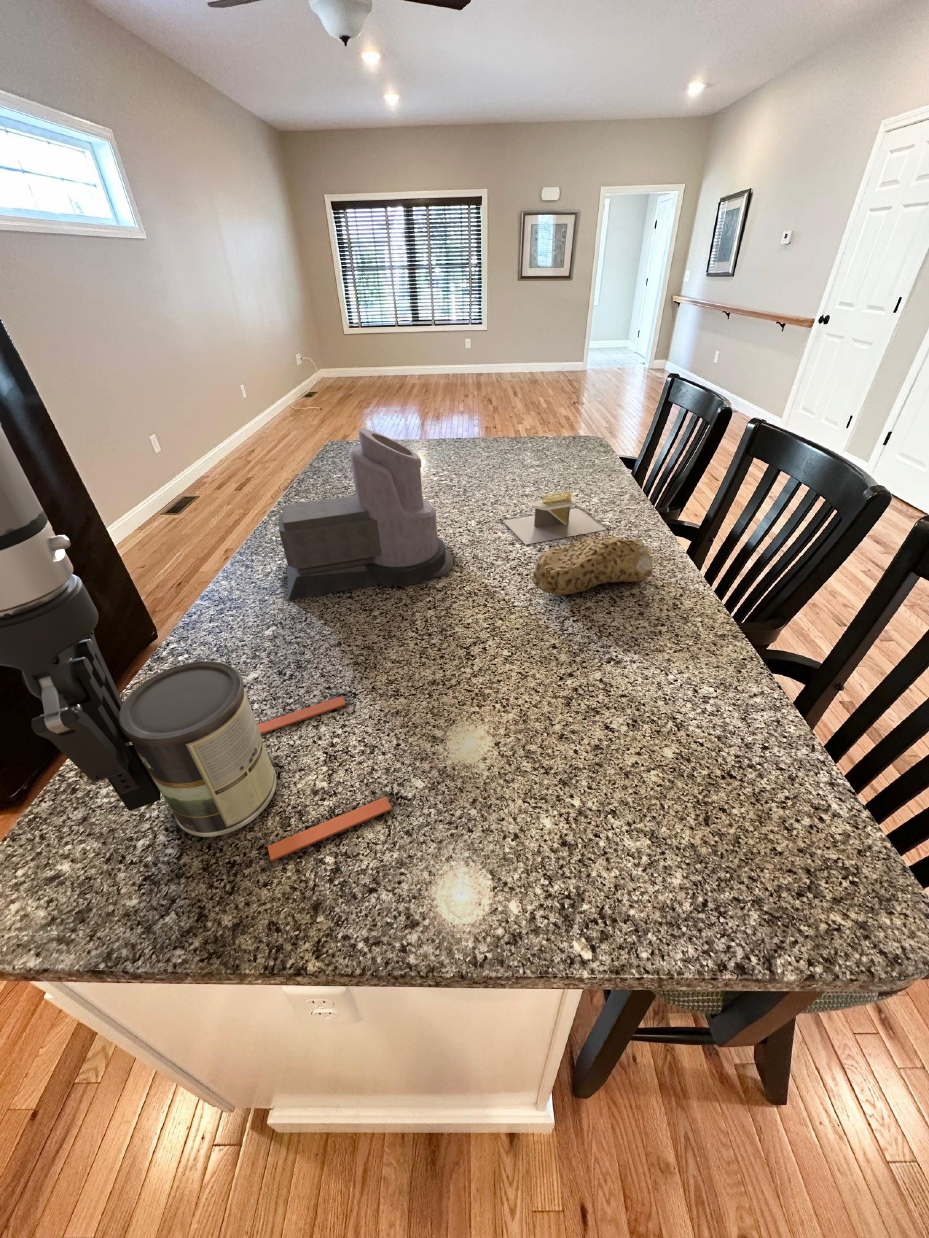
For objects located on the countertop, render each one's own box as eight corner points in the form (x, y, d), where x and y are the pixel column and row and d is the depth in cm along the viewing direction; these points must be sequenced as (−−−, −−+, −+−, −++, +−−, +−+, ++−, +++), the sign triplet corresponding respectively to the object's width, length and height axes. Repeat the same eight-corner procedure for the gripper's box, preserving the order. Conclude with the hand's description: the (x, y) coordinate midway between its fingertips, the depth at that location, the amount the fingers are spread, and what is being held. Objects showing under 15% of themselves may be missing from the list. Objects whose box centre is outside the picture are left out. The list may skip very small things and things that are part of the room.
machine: (440, 537, 103) (432, 409, 89) (463, 575, 91) (458, 433, 77) (286, 562, 97) (252, 428, 83) (288, 606, 84) (248, 457, 70)
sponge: (626, 565, 94) (522, 551, 91) (645, 530, 89) (534, 514, 86) (646, 615, 85) (531, 601, 82) (668, 580, 80) (545, 564, 77)
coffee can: (173, 854, 49) (110, 756, 41) (176, 774, 57) (124, 678, 49) (284, 814, 52) (246, 716, 44) (272, 743, 60) (238, 649, 52)
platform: (606, 529, 104) (611, 498, 100) (525, 544, 100) (527, 513, 96) (577, 508, 113) (580, 479, 110) (502, 520, 109) (502, 491, 105)
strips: (270, 861, 48) (270, 860, 48) (245, 730, 62) (244, 728, 62) (391, 809, 52) (391, 808, 52) (342, 697, 66) (342, 695, 66)
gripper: (66, 624, 32) (190, 838, 46) (86, 543, 42) (184, 740, 56) (-85, 660, 30) (94, 876, 43) (-26, 565, 39) (105, 766, 53)
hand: (145, 799), depth 49 cm, fingers closed
